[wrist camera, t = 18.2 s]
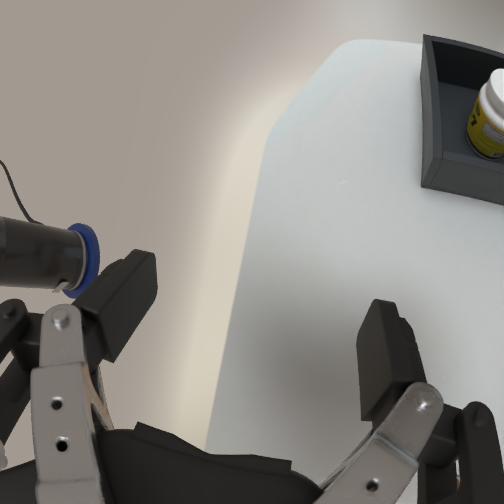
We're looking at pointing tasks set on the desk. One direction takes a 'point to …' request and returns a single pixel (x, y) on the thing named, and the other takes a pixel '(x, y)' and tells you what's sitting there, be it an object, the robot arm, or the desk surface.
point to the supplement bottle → (488, 119)
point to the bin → (456, 119)
